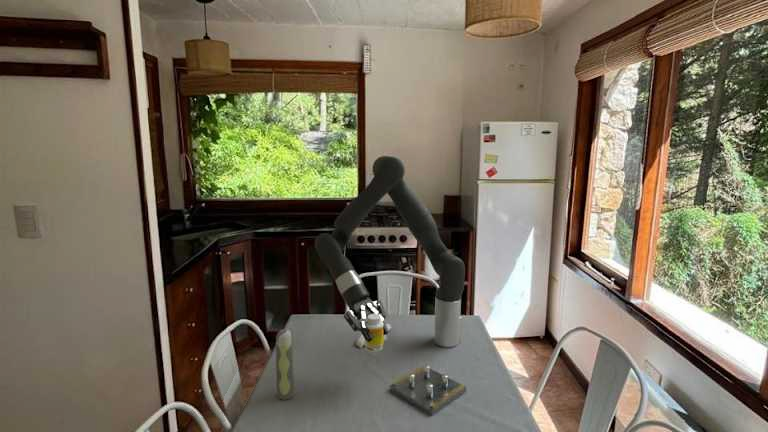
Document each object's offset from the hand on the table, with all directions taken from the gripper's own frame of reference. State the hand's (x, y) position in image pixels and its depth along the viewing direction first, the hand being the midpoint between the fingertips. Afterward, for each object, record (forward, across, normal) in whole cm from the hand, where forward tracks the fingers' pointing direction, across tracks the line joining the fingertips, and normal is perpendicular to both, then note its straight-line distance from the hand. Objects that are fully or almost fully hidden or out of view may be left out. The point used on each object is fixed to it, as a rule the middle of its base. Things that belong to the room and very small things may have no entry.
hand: (378, 337), depth 121 cm
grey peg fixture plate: (+20, +9, +3) cm, 22 cm away
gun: (-5, +20, +29) cm, 35 cm away
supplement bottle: (+2, 0, +4) cm, 5 cm away
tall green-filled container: (0, -23, +22) cm, 32 cm away
